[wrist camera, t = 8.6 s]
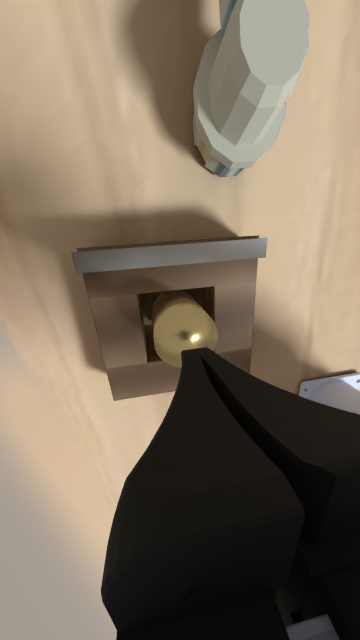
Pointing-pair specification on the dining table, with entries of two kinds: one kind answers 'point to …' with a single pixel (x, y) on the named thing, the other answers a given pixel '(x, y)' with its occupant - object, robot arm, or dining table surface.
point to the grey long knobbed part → (247, 81)
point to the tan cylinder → (180, 326)
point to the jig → (166, 275)
